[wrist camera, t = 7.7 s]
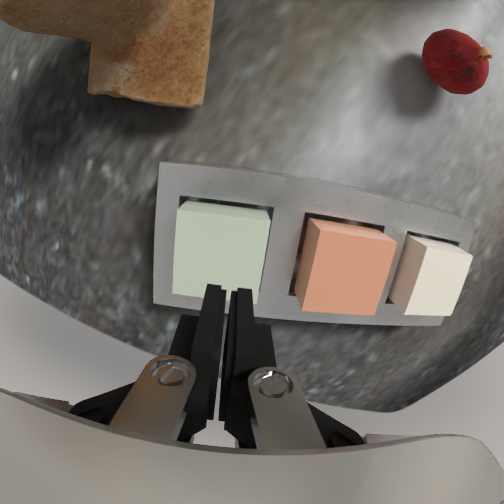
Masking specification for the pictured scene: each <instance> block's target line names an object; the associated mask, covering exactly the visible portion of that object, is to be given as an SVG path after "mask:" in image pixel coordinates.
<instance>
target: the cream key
mask: <svg viewBox="0 0 504 504" xmlns="http://www.w3.org/2000/svg"><path fill="white" fill-rule="evenodd" d="M472 258H473V256H472V255H470V254H469V253H467V252H465V251H463V250H462V249H460V248H458V247H456V246H455V245H453V244H450V243H446V242H441V241H436V240H432V239H427V238H422V237H417V236H412V235H407V234H406V238H405V241H404V245H403V249H402V252H401V256H400V259H399V262H398V266H397V269H396V272H395V275H394V278H393V281H392V284H391V287H390V290H389V293H388V297H389V298H390V299H391V300H392V302H393V303H394V304H395V305H396V306H397V307H398V308H399V310H400V311H401V312H402V313H403V314H404V315H429V316H451V314H452V312H453V310H454V307H455V305H456V302H457V300H458V297H459V295H460V292H461V290H462V287H463V284H464V281H465V279H466V276H467V273H468V270H469V267H470V264H471V261H472Z"/></svg>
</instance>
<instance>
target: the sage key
mask: <svg viewBox="0 0 504 504" xmlns="http://www.w3.org/2000/svg"><path fill="white" fill-rule="evenodd" d="M270 223H271V221H270V218H269V216H268V213H267V211H266V210H258V209H251V208H244V207H236V206H228V205H220V204H212V203H203V202H195V201H186V202H185V203H184V204H183V205H182V206H181V207H179V208H178V209H177V217H176V231H175V246H174V265H173V291H172V293H173V294H180V295H187V296H194V297H201V298H204V295H205V291H206V287H207V283H208V284H215V285H222V287H221V289H224V290H227V294H226V301H230V297H231V291H237V288H238V287H239V288H247V289H252V294H253V304H257V299H258V293H259V287H260V282H261V276H262V270H263V264H264V259H265V253H266V247H267V241H268V235H269V229H270Z"/></svg>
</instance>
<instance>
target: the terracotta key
mask: <svg viewBox="0 0 504 504" xmlns="http://www.w3.org/2000/svg"><path fill="white" fill-rule="evenodd" d="M396 245H397V242H396V241H394V240H393V239H391V238H390V237H388V236H387V235H385V234H384V233H382V232H381V231H379V230H377V229H372V228H366V227H361V226H355V225H349V224H343V223H338V222H332V221H326V220H319V219H313V218H309V219H308V224H307V230H306V235H305V239H304V244H303V249H302V254H301V259H300V263H299V268H298V273H297V277H296V282H295V286H294V291H295V294H296V297H297V299H298V302H299V305H300V308H301V311H310V312H323V313H337V314H353V315H372V316H374V314H375V311H376V309H377V306H378V303H379V300H380V297H381V294H382V291H383V288H384V285H385V282H386V279H387V276H388V273H389V269H390V266H391V263H392V259H393V256H394V253H395V249H396Z"/></svg>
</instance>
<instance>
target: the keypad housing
mask: <svg viewBox="0 0 504 504" xmlns="http://www.w3.org/2000/svg"><path fill="white" fill-rule="evenodd" d="M186 201H195V202H203V203H212V204H220V205H228V206H236V207H244V208H251V209H258V210H266V211H267V213H268V216H269V218H270V221H271V223H270V229H269V235H268V241H267V247H266V253H265V259H264V264H263V270H262V276H261V282H260V287H259V293H258V299H257V304H253V309H254V317H264V318H274V319H285V320H298V321H311V322H326V323H344V324H366V325H404V326H441V323H442V321H443V319H444V317H445V316H429V315H404V314H403V313H402V312H401V311H400V310H399V308H398V307H397V306H396V305H395V304H394V303H393V302H392V300H391V299H390V298H389V297H388V293H389V290H390V287H391V284H392V281H393V278H394V275H395V272H396V269H397V266H398V262H399V259H400V256H401V252H402V249H403V245H404V241H405V238H406V234H407V235H412V236H417V237H422V238H427V239H432V240H436V241H441V242H446V243H450V244H453V245H455V246H456V247H458V248H460V249H462V250H463V251H465V252H467V253H468V251H469V248H470V244H471V241H472V237H473V234H474V230H475V226H476V222H474V221H472V220H469V219H467V218H464V217H462V216H460V215H457V214H455V213H452V212H450V211H446V210H443V209H440V208H436V207H433V206H429V205H426V204H422V203H419V202H415V201H411V200H407V199H404V198H400V197H396V196H392V195H388V194H384V193H380V192H375V191H371V190H367V189H362V188H358V187H353V186H349V185H344V184H339V183H334V182H329V181H324V180H319V179H314V178H308V177H303V176H297V175H291V174H285V173H279V172H273V171H266V170H259V169H252V168H245V167H238V166H230V165H222V164H213V163H204V162H194V161H183V160H170V161H163V162H160V167H159V177H158V188H157V201H156V216H155V236H154V271H153V303H155V304H161V305H167V306H174V307H181V308H188V309H195V310H201V307H202V303H203V299H204V298H201V297H194V296H187V295H180V294H173V293H172V291H173V265H174V246H175V231H176V217H177V209H178V208H179V207H181V206H182V205H183V204H184V203H185V202H186ZM309 218H313V219H319V220H326V221H332V222H338V223H343V224H349V225H355V226H361V227H366V228H372V229H377V230H379V231H381V232H382V233H384V234H385V235H387V236H388V237H390V238H391V239H393V240H394V241H396V242H397V245H396V249H395V253H394V256H393V259H392V263H391V266H390V269H389V273H388V276H387V279H386V282H385V285H384V288H383V291H382V294H381V297H380V300H379V303H378V306H377V309H376V311H375V314H374V316H372V315H353V314H337V313H323V312H310V311H301V308H300V305H299V302H298V299H297V297H296V294H295V291H294V286H295V282H296V277H297V273H298V268H299V263H300V259H301V254H302V249H303V244H304V239H305V235H306V230H307V224H308V219H309ZM229 305H230V301H226V304H225V313H227V314H228V312H229Z"/></svg>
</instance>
